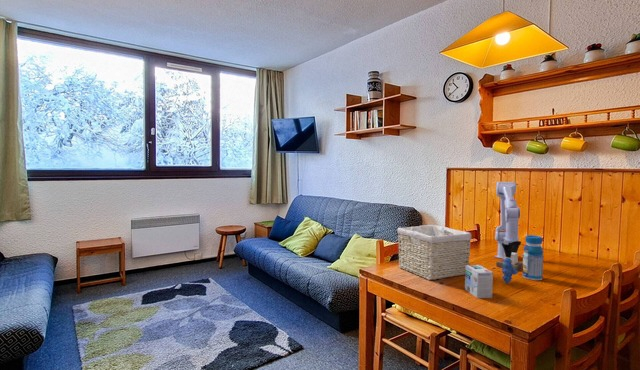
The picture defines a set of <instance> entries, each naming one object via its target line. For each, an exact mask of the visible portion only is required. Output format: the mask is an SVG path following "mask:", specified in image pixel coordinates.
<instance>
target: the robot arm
mask: <svg viewBox="0 0 640 370" xmlns="http://www.w3.org/2000/svg"><path fill="white" fill-rule="evenodd" d="M495 190H496V191H495V194H496V197H499V199H500V225H498V226H497V227H496V228H495V232H494V234H495V235H494V239H495V241H496V242H497V255H494V256H493V257H495V258H498V259H502V260H504V253H505V255H506V257H509V258H510V257H511V253H512V252H514V253H518V250H519V248H520V246H521V244H522V241H520V237H519V219H520V217H521V208H520V207H519V206H518V205H517V200H516V198H514V196H515V194H516V191H517V182H515V181H497V182H496V184H495Z"/></svg>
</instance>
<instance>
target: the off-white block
mask: <svg viewBox="0 0 640 370" xmlns="http://www.w3.org/2000/svg"><path fill="white" fill-rule="evenodd" d="M505 258H509V257H506V255H505V253H504V259H505ZM518 258H519V253H518V252H517V253H514V252H512V253H511V257H510V258H509V259H511V261H512V263H511V264H516V263H518V262H519V261H518V260H519V259H518ZM504 259H503V260H504ZM504 263H505V262H504Z"/></svg>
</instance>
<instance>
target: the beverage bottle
mask: <svg viewBox="0 0 640 370" xmlns="http://www.w3.org/2000/svg"><path fill="white" fill-rule="evenodd" d="M525 243H526V244H525V245H524V247H523V248H522V249H523V253H522V263H523V269H522V277H523V278H524V279H527V280H531V281H541V280H542V279H543V278H544V277H543V274H544V273H543V272H544V271H543V269H544V255H543V254H544V249H543V246H542V244H543V237H542V236H539V235H533V234H531V235H530V234H526V235H525Z"/></svg>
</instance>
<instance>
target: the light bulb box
mask: <svg viewBox="0 0 640 370" xmlns="http://www.w3.org/2000/svg"><path fill="white" fill-rule="evenodd" d="M493 274H494V271H492V270H490V269H487V268H486V267H484V266H482V265H480V264H472V265H471V264H469V265H466V268H465V277H464V279H465V280H464V290H466V291H467V292H468V294H469V293H470V294H471V295H472V296H473V297H475V298H476V299H490V298H491V299H493V282H494V281H493V279H494V278H493V277H494V275H493Z"/></svg>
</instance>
